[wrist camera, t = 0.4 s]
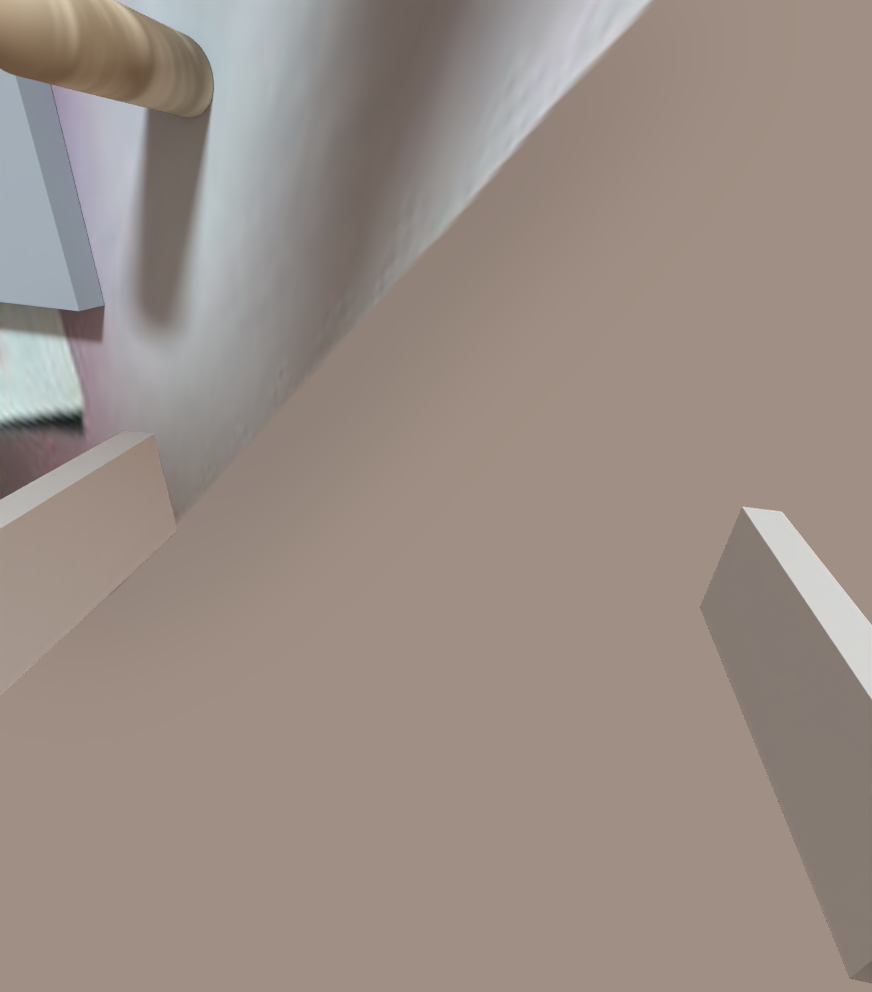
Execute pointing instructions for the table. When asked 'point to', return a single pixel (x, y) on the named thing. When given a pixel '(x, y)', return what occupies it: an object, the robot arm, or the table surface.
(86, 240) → the socket board
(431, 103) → the table surface
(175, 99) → the peg
